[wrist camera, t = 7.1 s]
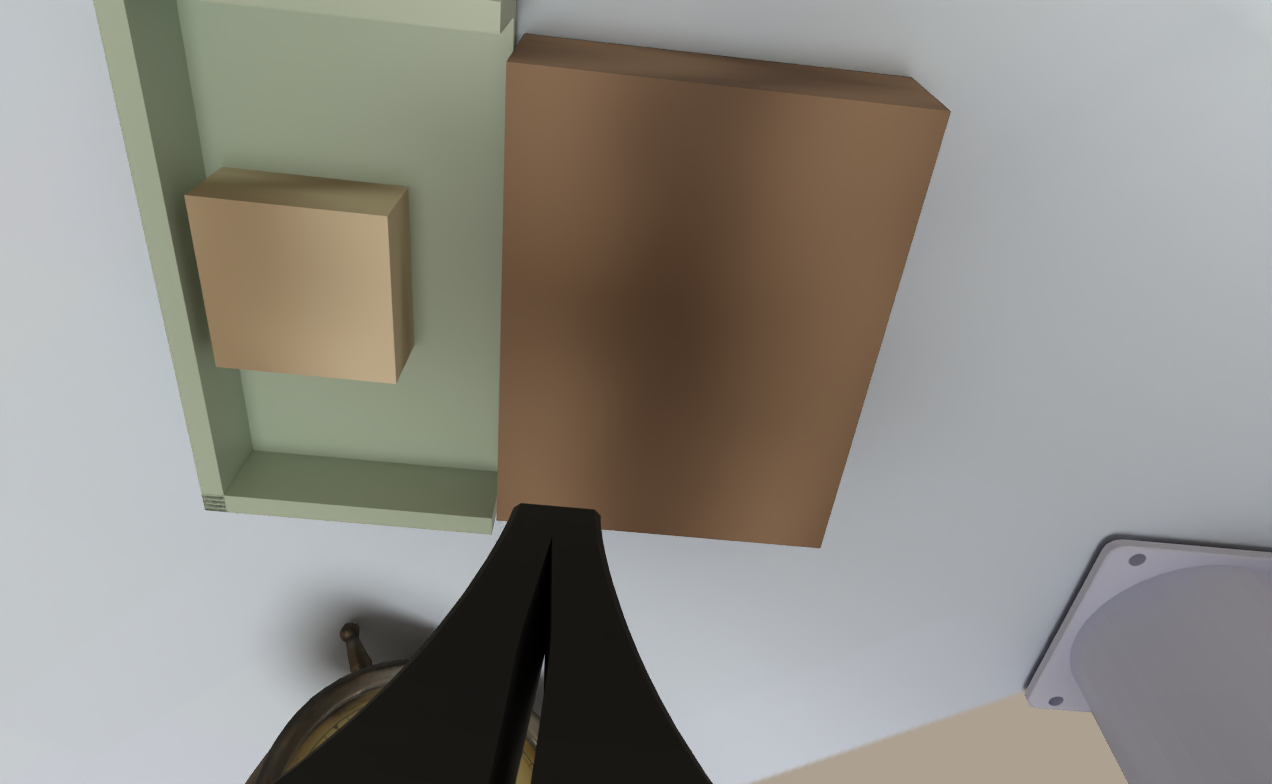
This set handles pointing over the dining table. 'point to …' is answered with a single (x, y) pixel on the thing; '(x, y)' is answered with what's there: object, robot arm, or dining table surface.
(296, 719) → the alarm clock
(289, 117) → the sage tray
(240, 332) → the maple tile
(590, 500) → the walnut board
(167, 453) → the dining table surface
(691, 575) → the dining table surface
